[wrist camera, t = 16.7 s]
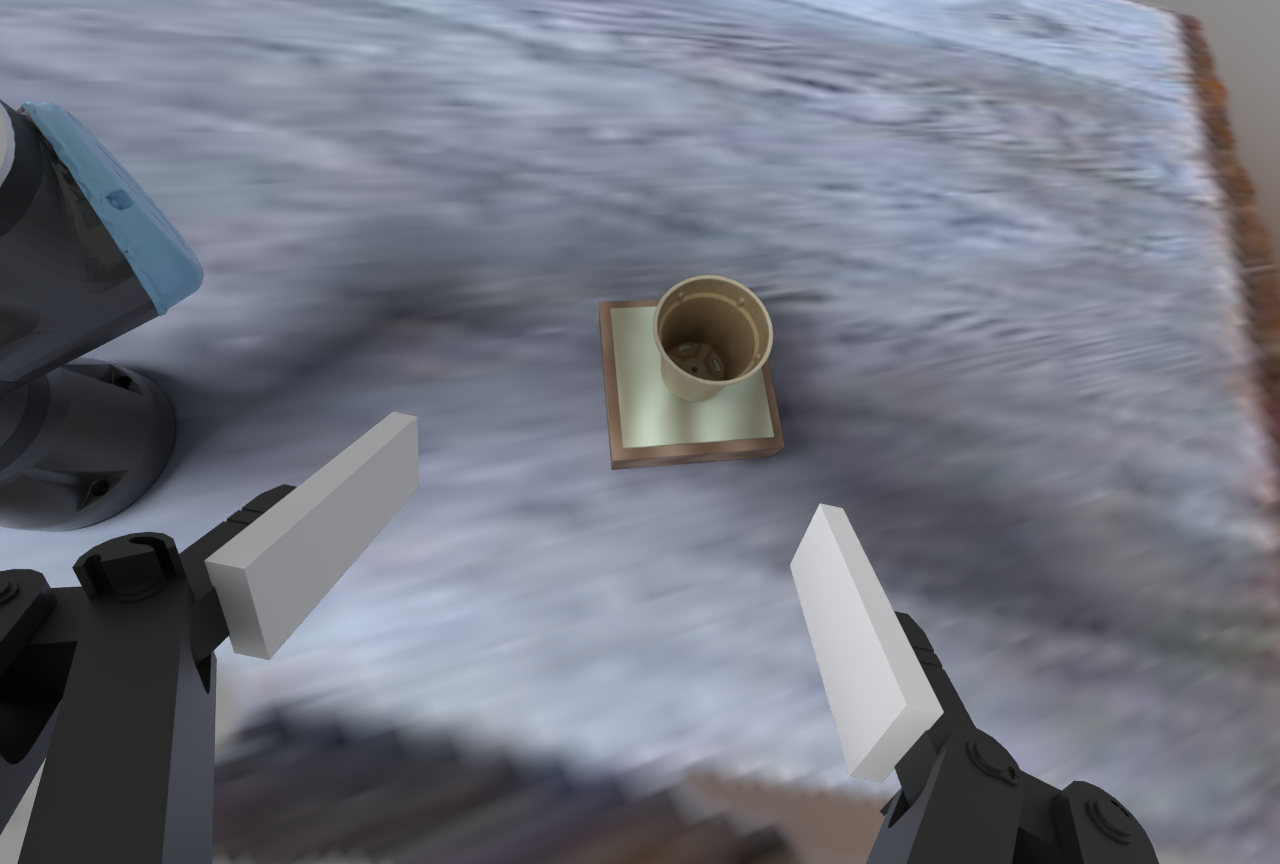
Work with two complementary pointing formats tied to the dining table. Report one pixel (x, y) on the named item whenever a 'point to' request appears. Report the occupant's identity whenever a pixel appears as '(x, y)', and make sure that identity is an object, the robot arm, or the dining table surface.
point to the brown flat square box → (676, 402)
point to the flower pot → (710, 335)
